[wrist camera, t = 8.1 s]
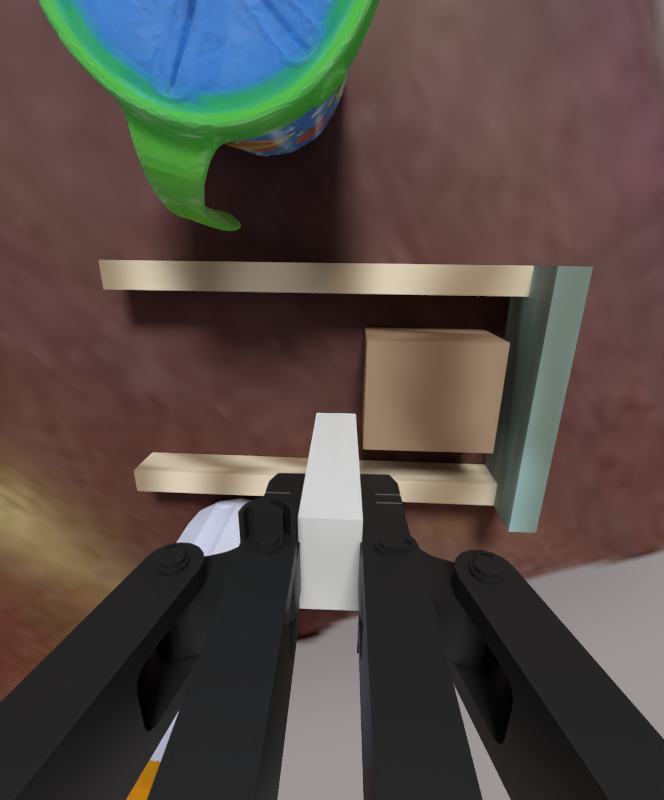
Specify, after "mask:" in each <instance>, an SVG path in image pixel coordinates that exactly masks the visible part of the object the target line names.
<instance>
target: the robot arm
mask: <svg viewBox="0 0 664 800" xmlns="http://www.w3.org/2000/svg"><path fill="white" fill-rule="evenodd" d="M238 519H239V531H240V544H239V546H238V547H236V548H234V549H232V550H230V551H227V552H223V553H219V554H214V555H209V556H204V552H203V551H202V550H201V548H200V547H199V546H197V545H194V544H192V543H183V542H179V543H174V544H169V545H166V546H164V547H161V548H159V549H157V550H155V551H154V552H153V553H151V554H150V555H149V556H147V557H146V558H145V559H144V560H143V561H142V562H141V563H140V564H139V565H138V566H137V567H136V568H135V569H134V570H133V571H132V572H131V573H130V574H129V575H128V576H127V577H126V578H125V579H124V580H123V581H122V582H121V583H120V584H119V585H118V586H117V587H116V588H115V589H114V590H113V591H112V592H111V593H110V594H109V595H108V596H107V597H106V598H105V599H104V600H103V601H102V602H101V603H100V604H99V605H98V606H97V607H96V608H95V609H94V610H93V611H92V612H91V613H90V614H89V615H88V616H87V617H86V618H85V619H84V620H83V621H82V622H81V623H80V624H79V625H78V626H77V627H76V628H75V629H74V630H73V631H72V632H71V633H70V634H69V635H68V636H67V637H66V638H65V639H64V640H63V641H62V642H61V643H60V644H59V645H58V646H57V647H56V648H55V649H54V650H53V651H52V652H51V653H50V654H49V655H48V656H47V657H46V658H45V659H44V660H43V661H42V662H41V663H40V664H39V665H37V666H36V667H35V668H34V669H33V670H32V671H31V672H30V673H29V674H28V675H27V676H26V677H25V678H24V679H23V680H22V681H21V682H20V683H19V684H18V685H17V686H16V687H15V688H14V689H13V690H12V691H11V692H10V693H9V694H8V695H7V696H6V697H5V698H4V699H3V700H2V701H1V702H0V800H126V799H127V797H128V796H129V794H130V792H131V791H132V789H133V787H134V786H135V784H136V782H137V780H138V779H139V777H140V775H141V774H142V772H143V770H144V769H145V767H146V765H147V764H148V762H149V760H150V759H151V757H152V755H153V754H154V752H155V750H156V749H157V747H158V745H159V743H160V742H161V740H162V738H163V737H164V735H165V733H166V732H167V730H168V728H169V727H170V725H171V723H172V722H173V720H174V718H175V717H176V715H177V713H178V715H177V718H176V721H175V723H174V726H173V729H172V732H171V734H170V737H169V740H168V743H167V745H166V748H165V751H164V754H163V756H162V759H161V762H160V765H159V768H158V770H157V773H156V776H155V779H154V781H153V784H152V787H151V790H150V792H149V795H148V798H147V800H277V797H278V789H279V780H280V772H281V764H282V756H283V748H284V740H285V732H286V723H287V715H288V707H289V699H290V690H291V682H292V674H293V666H294V658H295V650H296V642H297V634H298V607H300V609H325V610H354V611H359V622H358V644H357V653H359V671H360V699H361V700H360V701H361V732H362V760H363V761H362V762H363V793H364V800H482V796H481V792H480V788H479V784H478V780H477V776H476V772H475V768H474V764H473V760H472V757H471V752H470V748H469V744H468V740H467V736H466V732H465V728H464V724H463V720H462V716H461V712H460V708H459V704H458V700H457V696H456V693H455V688H454V685H455V687H456V689H457V691H458V693H459V695H460V697H461V699H462V701H463V703H464V705H465V708H466V709H467V711H468V714H469V716H470V718H471V719H472V722H473V724H474V726H475V728H476V730H477V732H478V734H479V736H480V738H481V740H482V742H483V744H484V746H485V748H486V750H487V752H488V754H489V756H490V758H491V760H492V762H493V764H494V766H495V768H496V770H497V772H498V775H499V777H500V779H501V780H502V783H503V785H504V787H505V789H506V791H507V793H508V795H509V797H510V799H511V800H664V739H663V738H662V737H661V736H660V734H659V733H658V732H657V731H656V730H655V729H654V727H653V726H652V725H651V724H650V723H649V722H648V721H647V720H646V718H645V717H644V716H643V715H642V714H641V713H640V711H639V710H638V709H637V708H636V707H635V706H634V705H633V703H632V702H631V701H630V700H629V699H628V698H627V696H626V695H625V694H624V693H623V692H622V691H621V690H620V688H619V687H618V686H617V685H616V684H615V683H614V682H613V680H612V679H611V678H610V677H609V676H608V675H607V673H606V672H605V671H604V670H603V669H602V668H601V667H600V665H599V664H598V663H597V662H596V661H595V660H594V659H593V657H592V656H591V655H590V654H589V653H588V652H587V650H586V649H585V648H584V647H583V646H582V645H581V644H580V642H579V641H578V640H577V639H576V638H575V637H574V636H573V635H572V633H571V632H570V631H569V630H568V629H567V627H566V626H565V625H564V624H563V623H562V622H561V621H560V620H559V618H558V617H557V616H556V615H555V614H554V613H553V611H552V610H551V609H550V608H549V607H548V606H547V605H546V603H545V602H544V601H543V600H542V599H541V598H540V596H539V595H538V594H537V593H536V592H535V591H534V590H533V588H532V587H531V586H530V585H529V584H528V583H527V582H526V580H525V579H524V578H523V577H522V576H521V575H520V573H519V572H518V571H517V570H516V569H515V568H514V567H513V566H512V565H511V564H510V563H509V562H508V561H506V560H505V559H504V558H502V557H500V556H498V555H496V554H494V553H491V552H487V551H483V550H469V551H466V552H462V553H461V554H460V555H459V556H458V557H457V558H456V559H455V563H454V562H451V561H447V560H443V559H439V558H437V557H434V556H431V555H429V554H427V553H425V552H423V551H422V550H421V549H419V546H418V544H417V542H416V540H415V539H414V538H412V537H411V536H410V533H409V529H408V525H407V520H406V516H405V512H404V508H403V504H402V499H401V496H400V491H399V486H398V483H397V482H396V481H395V480H394V479H393V478H392V477H391V476H390V475H388V474H360V469H359V455H358V440H357V426H356V414H344V413H317V414H316V419H315V425H314V431H313V436H312V442H311V447H310V453H309V458H308V464H307V469H306V473H278V474H276V475H275V476H274V477H273V478H272V479H271V480H270V481H269V483H268V485H267V488H266V493H265V494H264V497H261V498H257V499H254V500H251V501H249V502H248V503H246V504H245V505H243V506H242V507H241V509H240V510H239V511H238ZM453 683H454V685H453Z"/></svg>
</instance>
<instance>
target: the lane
mask: <svg viewBox="0 0 664 800" xmlns="http://www.w3.org/2000/svg"><path fill="white" fill-rule="evenodd" d="M99 265H100V271H101V277H102V283H103V289H112V290H170V291H228V292H286V293H344V294H402V295H460V296H510V303H509V309H508V316H507V322H506V329H505V335H504V340H505V341H507V342H509V343H510V347H509V353H508V360H507V366H506V373H505V379H504V386H503V392H502V399H501V405H500V412H499V418H498V425H497V431H496V438H495V444H494V451H493V453H486V459H485V465H484V464H457V463H430V462H403V461H375V460H359V469H360V474H388V475H390V476H391V477H392V478H393V479H394V480H395V481H396V482H397V483H398V486H399V491H400V496H401V499H402V502H418V503H442V504H467V505H491V506H494V507H495V509H496V510H497V512H498V514H499V516H500V517H501V519H502V521H503V523H504V524H505V526H506V528H507V530H508V531H510V532H533V533H536V530H537V526H538V521H539V516H540V512H541V507H542V502H543V498H544V493H545V488H546V484H547V479H548V474H549V470H550V465H551V460H552V456H553V451H554V446H555V442H556V437H557V432H558V428H559V423H560V418H561V414H562V409H563V404H564V400H565V395H566V390H567V386H568V381H569V376H570V372H571V367H572V362H573V358H574V353H575V348H576V344H577V339H578V334H579V330H580V325H581V320H582V316H583V311H584V306H585V302H586V297H587V292H588V288H589V283H590V278H591V274H592V269H593V267H575V266H512V265H439V264H366V263H293V262H220V261H147V260H99ZM307 464H308V458H293V457H266V456H239V455H211V454H184V453H157V452H153V453H152V454H150V455H149V456H148V457H147V458H146V459H145V460H144V461H143V462H142V463H141V464H140V465H139V466H138V467H137V468H136V469H135V470H134V474H135V480H136V486H137V491H152V492H176V493H200V494H225V495H249V496H264V494H265V493H266V488H267V485H268V483H269V481H270V480H271V479H272V478H273V477H274V476H275V475H276V474H278V473H306V469H307Z"/></svg>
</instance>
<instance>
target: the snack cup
mask: <svg viewBox="0 0 664 800" xmlns="http://www.w3.org/2000/svg"><path fill="white" fill-rule="evenodd" d="M39 3H40V6H41V8H42V10H43V11H44V13H45V15H46V17H47V19H48V20H49V22H50V24H51V25H52V27H53V28H54V30H55V31H56V33H57V34H58V36H59V38H60V40H61V41H62V43H63V44H64V45H65V46H66V48H67V49H68V50H69V52H70V53H71V54H72V55H73V56H74V58H75V59H76V60H77V61H78V62H79V64H80V65H81V66H82V67H83V68H84V69H85V70H86V71H87V72H88V73H89V74H90V75H91V76H92V77H93V78H94V79H95V80H96V81H97V82H98V83H99V84H100V85H101V86H102V87H103V88H104V89H106V90H107V91H108V92H109V93H110V94H111V95H112V96H113V97H114V98H115V99H116V100H117V101H118V103H119V104H120V106H121V107H122V109H123V111H124V113H125V115H126V119H127V122H128V126H129V129H130V133H131V137H132V140H133V144H134V147H135V149H136V152H137V155H138V158H139V161H140V163H141V165H142V168H143V170H144V173H145V176H146V178H147V180H148V182H149V184H150V185H151V187H152V189H153V190H154V192H155V194H156V195H157V197H158V198H159V200H160V201H161V202H162V203H163V204H164V205H165V207H166V208H167V209H168V210H169V211H171V212H172V213H174V214H175V215H178V216H180V217H183V218H186V219H190V220H193V221H195V222H198V223H201V224H205V225H207V226H209V227H212V228H216V229H220V230H224V231H234V230H238V229H239V228H240V227H241V224H240V222H239V221H238V220H237V219H236V218H235V217H234V216H233V215H231V214H229V213H226V212H224V211H220V210H216V209H212V208H209V207H207V206H205V181H206V177H207V173H208V169H209V165H210V161H211V159H212V158H213V156H214V154H215V152H216V150H217V149H218V148H219V146H221V145H223V144H226V145H228V146H231V147H234V148H237V149H240V150H242V151H245V152H248V153H251V154H254V155H259V156H261V155H263V156H270V155H283V154H288V153H291V152H294V151H296V150H298V149H300V148H301V147H304V146H305V145H306V144H308V143H309V142H311V141H312V140H314V139H316V138H317V137H318V136H319V135H320V133H321V132H322V131H323V130H324V128H325V127H326V126H327V124H328V122H329V121H330V119H331V117H332V116H333V114H334V112H335V110H336V107H337V105H338V103H339V100H340V98H341V96H342V93H343V90H344V87H345V83H346V79H347V76H348V73H349V69H350V66H351V63H352V61H353V60H354V58H355V56H356V54H357V52H358V50H359V49H360V47H361V45H362V43H363V41H364V39H365V37H366V35H367V33H368V31H369V28H370V26H371V23H372V20H373V17H374V14H375V12H376V9H377V6H378V3H379V0H39Z"/></svg>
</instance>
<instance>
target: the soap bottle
mask: <svg viewBox="0 0 664 800" xmlns="http://www.w3.org/2000/svg"><path fill="white" fill-rule="evenodd" d="M249 501H251V500H247V499H242V498H239V499H231V500H224V501H219V502H217V503H215V504H213V505H211V506H209V507H207V508H205V509H203V510H201V511H199V512H198V514H197V515H196V516H195V517H194V518H193V519H192V521H191V522H190V523H189V524H188V525H187V527H186V529H185V530H184V532H183V533H182V535H181V536H180V538H179V540H178V541H177V543H179V542H183V543H192V544H194V545H197V546H199V547H200V548H201V550H202V551H203V552H204V556H209V555H214V554H219V553H223V552H227V551H230V550H232V549H234V548H236V547H238V546H239V544H240V531H239V519H238V511H239V510H240V509H241V507H242V506H243V505H245V504H246V503H248V502H249ZM177 715H178V713H177ZM177 715H176V717H175V718H174V720H173V722H172V723H171V725H170V727H169V728H168V730H167V732H166V733H165V735H164V737H163V738H162V740H161V742H160V743H159V745H158V747H157V749H156V750H155V752H154V754H153V755H152V757H151V759H150V760H149V762H148V764H147V765H146V767H145V769H144V770H143V772H142V774H141V775H140V777H139V779H138V780H137V782H136V784H135V786H134V787H133V789H132V791H131V792H130V794H129V796H128V797H127V799H126V800H147V798H148V795H149V792H150V790H151V787H152V784H153V781H154V779H155V776H156V773H157V770H158V768H159V765H160V762H161V759H162V756H163V754H164V751H165V748H166V745H167V743H168V740H169V737H170V734H171V732H172V729H173V726H174V723H175V721H176V718H177Z"/></svg>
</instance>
